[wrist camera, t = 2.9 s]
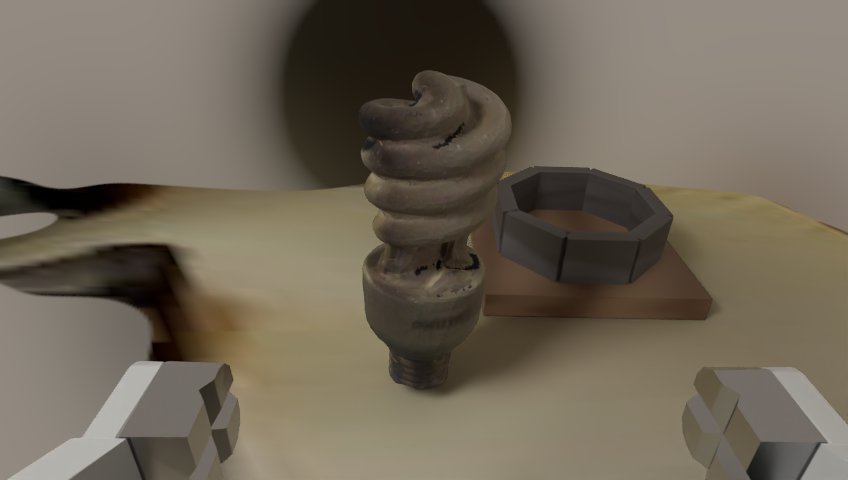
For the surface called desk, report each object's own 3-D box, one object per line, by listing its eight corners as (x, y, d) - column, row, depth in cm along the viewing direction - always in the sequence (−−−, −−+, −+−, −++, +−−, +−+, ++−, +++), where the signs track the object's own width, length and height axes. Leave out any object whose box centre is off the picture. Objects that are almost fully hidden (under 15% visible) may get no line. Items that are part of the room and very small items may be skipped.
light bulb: (446, 334, 30) (464, 52, 22) (503, 403, 25) (550, 85, 18) (349, 366, 27) (333, 63, 20) (395, 447, 23) (396, 103, 16)
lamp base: (483, 315, 31) (490, 249, 29) (467, 211, 42) (471, 158, 40) (704, 319, 31) (729, 254, 29) (630, 215, 43) (643, 162, 40)
